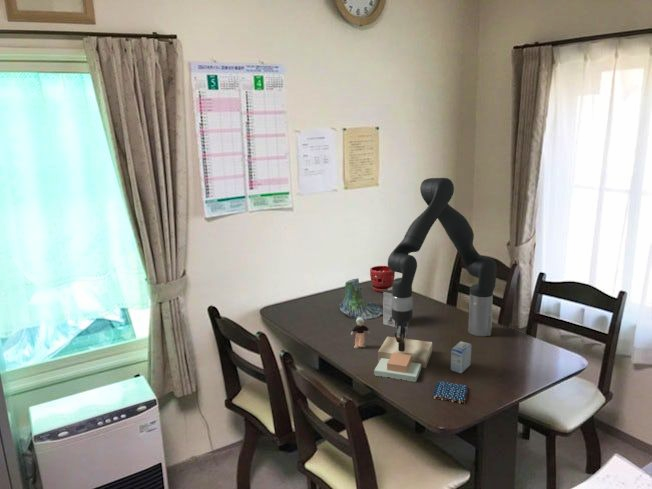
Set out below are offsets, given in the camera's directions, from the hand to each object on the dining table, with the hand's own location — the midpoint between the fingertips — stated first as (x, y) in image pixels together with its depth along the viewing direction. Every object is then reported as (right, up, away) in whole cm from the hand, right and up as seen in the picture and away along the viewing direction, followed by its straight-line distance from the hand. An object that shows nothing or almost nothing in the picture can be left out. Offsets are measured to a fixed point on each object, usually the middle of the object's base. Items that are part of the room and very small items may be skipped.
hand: (401, 350), depth 184 cm
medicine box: (+21, -6, -3) cm, 22 cm away
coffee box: (+3, +4, +39) cm, 40 cm away
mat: (-2, -7, -5) cm, 9 cm away
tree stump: (-12, +7, +53) cm, 54 cm away
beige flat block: (+3, -4, +7) cm, 8 cm away
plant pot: (+2, +15, +83) cm, 85 cm away
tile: (-1, -4, -4) cm, 6 cm away
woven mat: (+13, -11, -20) cm, 26 cm away
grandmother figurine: (-14, -2, +16) cm, 22 cm away
